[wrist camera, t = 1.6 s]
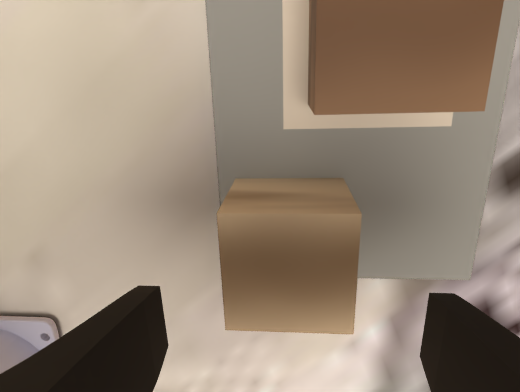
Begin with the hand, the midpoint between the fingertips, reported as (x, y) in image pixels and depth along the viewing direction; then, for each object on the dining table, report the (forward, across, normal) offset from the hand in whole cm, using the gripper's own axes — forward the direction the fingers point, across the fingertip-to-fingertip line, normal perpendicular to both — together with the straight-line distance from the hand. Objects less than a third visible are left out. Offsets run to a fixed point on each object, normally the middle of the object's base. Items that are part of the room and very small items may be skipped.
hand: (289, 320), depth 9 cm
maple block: (+6, 0, 0) cm, 6 cm away
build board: (+7, -2, -4) cm, 9 cm away
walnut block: (+6, -3, -8) cm, 10 cm away
